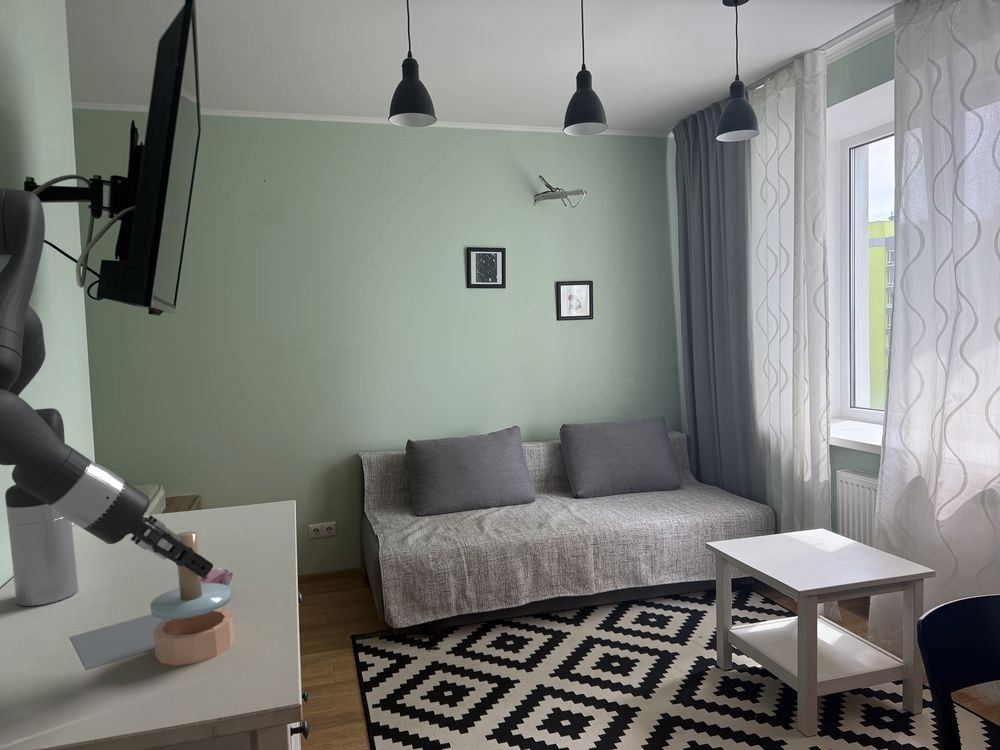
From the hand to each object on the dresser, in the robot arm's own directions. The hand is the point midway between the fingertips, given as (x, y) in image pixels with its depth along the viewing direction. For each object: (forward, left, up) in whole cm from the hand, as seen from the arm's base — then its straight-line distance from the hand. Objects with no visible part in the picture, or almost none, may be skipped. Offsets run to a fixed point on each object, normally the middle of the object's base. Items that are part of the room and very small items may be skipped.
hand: (204, 568), depth 100 cm
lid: (0, -2, -5) cm, 5 cm away
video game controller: (-16, +4, -12) cm, 20 cm away
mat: (-11, -8, -11) cm, 18 cm away
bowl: (0, -2, -11) cm, 12 cm away
